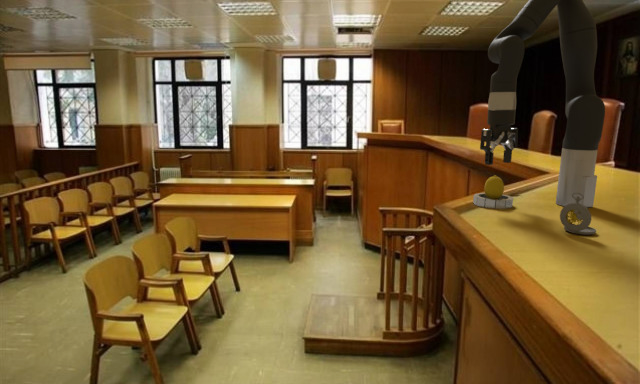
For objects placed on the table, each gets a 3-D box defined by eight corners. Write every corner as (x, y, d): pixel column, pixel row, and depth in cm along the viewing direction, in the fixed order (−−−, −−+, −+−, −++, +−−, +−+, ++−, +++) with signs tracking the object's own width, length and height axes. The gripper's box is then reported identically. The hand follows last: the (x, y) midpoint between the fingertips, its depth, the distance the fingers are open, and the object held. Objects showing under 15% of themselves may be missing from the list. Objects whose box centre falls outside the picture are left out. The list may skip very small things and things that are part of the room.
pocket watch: (591, 230, 107) (597, 189, 105) (601, 239, 99) (607, 196, 97) (554, 226, 109) (559, 187, 107) (560, 235, 102) (566, 193, 100)
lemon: (500, 203, 130) (503, 177, 128) (481, 201, 132) (483, 175, 131) (504, 200, 134) (506, 175, 133) (485, 198, 137) (487, 173, 136)
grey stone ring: (519, 206, 132) (520, 198, 131) (496, 210, 126) (496, 201, 126) (489, 199, 141) (490, 191, 140) (465, 202, 135) (466, 194, 135)
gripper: (505, 108, 134) (502, 161, 137) (474, 108, 127) (471, 164, 130) (528, 108, 128) (523, 163, 131) (497, 108, 121) (493, 166, 124)
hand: (498, 163), depth 130 cm, fingers open, 8 cm apart
